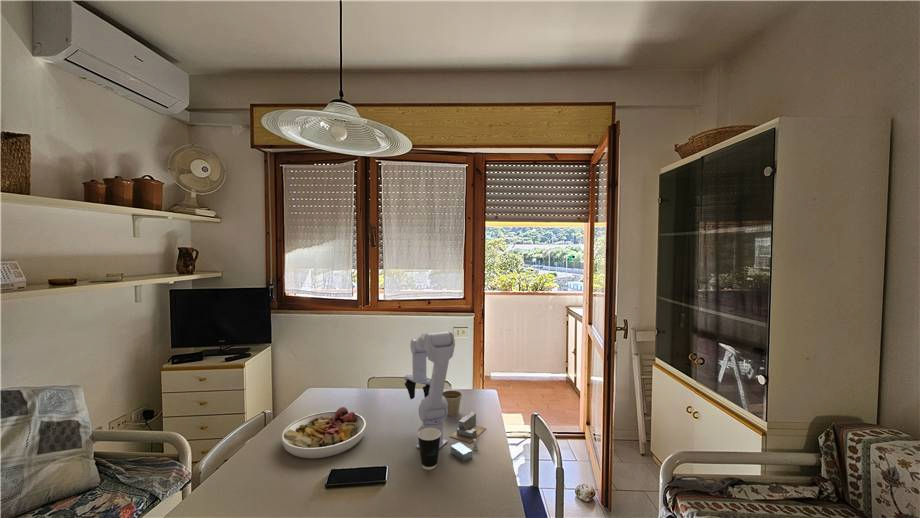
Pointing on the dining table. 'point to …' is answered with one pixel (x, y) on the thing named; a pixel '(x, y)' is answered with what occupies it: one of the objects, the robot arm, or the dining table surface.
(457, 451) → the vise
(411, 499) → the dining table surface
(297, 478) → the dining table surface
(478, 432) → the plate
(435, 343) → the robot arm
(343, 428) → the bowl
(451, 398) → the flower pot
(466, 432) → the uneven u-shaped block
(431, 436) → the dixie cup
